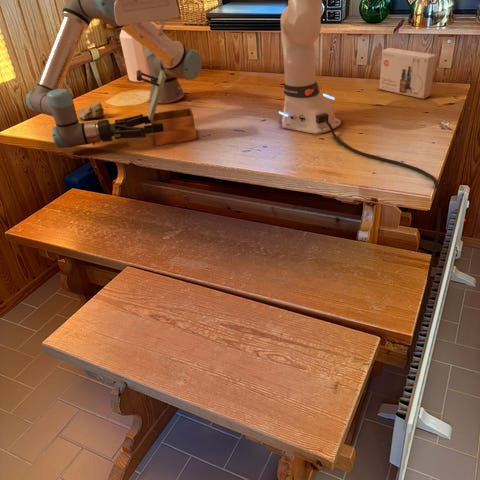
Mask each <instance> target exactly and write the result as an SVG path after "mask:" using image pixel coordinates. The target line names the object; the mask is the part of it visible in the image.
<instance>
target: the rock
mask: <svg viewBox="0 0 480 480" xmlns="http://www.w3.org/2000/svg"><path fill="white" fill-rule="evenodd" d="M104 114H105V111H104V107H103V106H102V103H101V102H100V101H96V102H94V103H93V104H90V105H89V107H88V108H79V109H78V117H79V119H80V120H83V121H86V120H90V119H100V118H102V117H103V116H104Z"/></svg>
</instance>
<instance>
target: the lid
mask: <svg viewBox="0 0 480 480" xmlns="http://www.w3.org/2000/svg"><path fill="white" fill-rule="evenodd" d="M136 73H137V80H138V81H141V80H142V81H145V83H148V84H150V85H151V84H153V85H156V87H155V90H154V93H153V96H152V100H151V101H150V103H149V106H148V110H147V116H149V120H151V121H152V120H153V117H154V114H155V113H156V111H157V107H158V105H159V104H158V101H159V98H160V95H161V92H162V89H163V85H164V82H165V79H166V76H165V72H164V71H163V70H160V74H159V77H158V78H155V77H153V76H150V75H147V74H144V73H142V72H141V71H140V70H137V72H136ZM142 75H143V76H146V77H148V78H151V79H154V80H157V83H155V82H152V81H150V80H147V79H144V78H142Z"/></svg>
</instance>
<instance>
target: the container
mask: <svg viewBox="0 0 480 480" xmlns="http://www.w3.org/2000/svg"><path fill="white" fill-rule="evenodd" d="M151 23H152V24H154V25H155V26H156V27H157V28H158V29H160V27H159V26H158V25H157V24H156V23H155V21H152V22H151ZM120 30H121V31H120V33H119V41H120V45H121V49H122V54H123V59H124V63H125V68H126V72H127V77H128V80H129V81H130V82H134V83H144V82H145V81H142V80H141V81H138V80H137V73H136V72H137V70H140V71H141V72H142V73H144V74H147V75H150V74H149V69H148V64H147V59H146V49H147V48H145V47H144V46H143V45H142V44H140V43H139V42H138V41H136V40H135V39H134V38H133V37H131V36H130V35H129V34H127V33H126V32H125V31H124V30H122V29H120ZM142 78H144V79H147V80H150V81H151V78H148V77H146V76H143V75H142ZM145 83H146V82H145Z"/></svg>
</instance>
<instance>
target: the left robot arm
mask: <svg viewBox="0 0 480 480" xmlns="http://www.w3.org/2000/svg"><path fill="white" fill-rule="evenodd" d="M115 1H116V0H65V4H64V5H63V8H62V11H61V16H62V20H61V22H60V25H59V27H58V30H57V33H56V35H55V37H54V40H53V43H52V45H51V48H50V50H49V54H48V55H47V58H46V60H45V63H44V66H43V67H42V71H41V73H40V76H39V79H38V81H37V84H36V86H35V89H32V90H30V91H28V93H26V96H25V104H26V106H27V107H28V108H29V109H30V110H31V111H33V112H35V113H38V114H43V115H46V116H50V117H52V118H53V120H54V122H55V126H53V127H52V129H51V136H52V140H53V142H54V143H53V144H54V145H55V147H57V148H59V149H64V148H65V149H66V148H75V147H81V146H86V145H96V144H99V143H101V142H102V143H108V142H112V141H113V139H115V140H121V139H136V138H145V137H146V135H147V134H149V135H150V134H153V133H157V132H163V131H164V129H163V124H162V123H161V124H154V125H151V120H149V116H148V115H144V114H143V113H139V114H137V115H133V116H128V117H124V118H119V119H114V122H113V123H110V120H109V119H100V120H97V121H96V120H92V121H86V122H79V118H78V115H77V111H76V107H75V103H74V99H73V97H72V95H71V92H70V91H69V89H67V88H62V86H63V84H64V81H65V79H66V76H67V74H68V72H69V69H70V67H71V64H72V61H73V59H74V56H75V54H76V51H77V49H78V46H79V43H80V41H81V38H82V36H83V34H84V31H85V30H87V29H89V26H90V24H91V23H92V21H93V20H101V21H103V22H104V23H106V24H107V25H109V26H110V27H111V28H113V29H114V30H124V31H125V32H126V33H127V34H129V35H130V36H131V37H133V38H134V39H135V40H136V41H138V42H139V43H140V44H142V45H143V46H144V47H145V48H147V49H146V59H147V64H148V69H149V74H150V76H153V77H155V78H158V77H159V74H160V70H163V71H164V72H165V76H166V79H165V82H164V85H163V89H162V92H161V95H160V98H159V101H158V105H168V104H173V103H176V102H179V101H181V100H183V99H184V98H185V94H184V90H183V88H182V84H180V82H179V80H178V79H182V80H186V81H188V80H195V79H196V78H198V77H199V76H200V73H201V71H202V66H203V63H202V62H203V59H202V56H201V54H200V53H199V51H198V50H196V49H190V48H188V47H187V46H186V45H184V44H183V42H181V41H179V40H172V38H170V37H169V36H168V35H167V34H166V33H164V32H163V36H159V33H158V28H159V27H158V28H157V27H156V26H155V25H154V24H152V23H151V22H145V23H138V27H137V28H138V29H139V31H140V32H143V35H144V38H141V39H140V38H139V34H138V32H137V31H136V30H135V29H134V26H133V24H130V25H123V26H119V25H117V24H116V20H115V14H114V3H115ZM151 81H152V82H155V83H157V80H154V79H151ZM155 87H156V85H153V84H151V83H150V90H149V91H150V92H149V100H150V102H151V100H152V96H153V93H154V90H155ZM143 124H144V125H143ZM140 125H143V126H140Z"/></svg>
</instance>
